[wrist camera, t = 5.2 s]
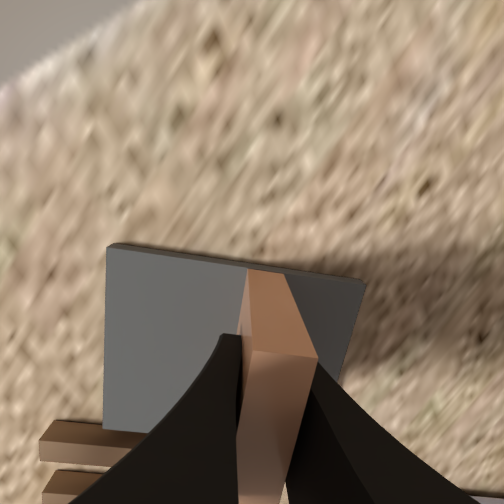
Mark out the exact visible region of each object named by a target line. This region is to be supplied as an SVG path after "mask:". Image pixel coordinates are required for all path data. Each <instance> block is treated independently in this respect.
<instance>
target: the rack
mask: <svg viewBox="0 0 504 504" xmlns="http://www.w3.org/2000/svg"><path fill="white" fill-rule="evenodd" d="M147 434H148V433H141V432H130V431H120V430H109V429H103V425H96V424H86V423H75V422H65V421H55V420H54V421H53V422H52V424H51V425H50V426H49V428H48V429H47V430H46V431H45V433H44V434H43V435H42V437H41V438H40V439H39V454H40V461H47V462H59V463H71V464H82V465H94V466H106V467H112V466H113V465H115V464H116V463H117V462H118V461H119V460H120V459H121V458H123V457H124V456H125V455H126V454H127V453H128V452H129V451H130V450H131V449H133V448H134V447H135V446H136V445H137V444H138V443H139V442H140V441H141V440H142V439H143V438H144V437H145V436H146V435H147ZM102 475H103V474H94V473H82V472H70V471H58V470H56V471H55V473H54V474H53V476H52V477H51V479H50V481H49V482H48V484H47V485H46V487H45V489H44V490H43V492H42V503H43V504H68V503H69V502H70V501H72V500H73V499H74V498H76V497H77V496H78V495H79V494H81V493H82V492H83V491H84V490H85V489H87V488H88V487H89V486H90V485H92V484H93V483H94V482H95V481H96V480H97V479H98V478H100V477H101V476H102Z"/></svg>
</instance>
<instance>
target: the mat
mask: <svg viewBox="0 0 504 504" xmlns="http://www.w3.org/2000/svg"><path fill="white" fill-rule="evenodd" d="M247 269H254V270H261V271H268V272H275V273H282V274H284V276H285V279H286V281H287V284H288V286H289V288H290V291H291V293H292V296H293V298H294V300H295V303H296V305H297V308H298V310H299V312H300V315H301V317H302V320H303V322H304V324H305V327H306V329H307V332H308V334H309V337H310V339H311V341H312V344H313V346H314V349H315V351H316V353H317V356H318V362H319V363H320V364H321V366H322V367H323V368H324V369H325V370H326V371H327V372H328V373H329V375H330V376H331V377H332V378H333V379H334V380H335V381H336V382H337V381H338V377H339V374H340V371H341V367H342V364H343V361H344V358H345V354H346V351H347V348H348V344H349V341H350V338H351V334H352V331H353V328H354V324H355V321H356V318H357V315H358V311H359V308H360V305H361V301H362V298H363V295H364V291H365V288H366V284H365V283H363V282H362V281H361V280H360V279H354V278H347V277H340V276H333V275H326V274H320V273H313V272H306V271H299V270H293V269H286V268H279V267H272V266H265V265H259V264H252V263H245V262H238V261H231V260H225V259H218V258H211V257H204V256H197V255H191V254H184V253H177V252H170V251H164V250H157V249H150V248H143V247H136V246H130V245H123V244H116V243H113V244H111V245H110V246H108V247H106V291H105V337H104V383H103V429H109V430H120V431H130V432H141V433H149V432H150V431H151V430H152V429H153V428H154V427H155V426H156V425H157V424H158V423H159V422H160V421H161V420H162V419H163V418H164V416H165V415H166V414H167V413H168V412H169V411H170V410H171V409H172V408H173V406H174V405H175V404H176V403H177V402H178V401H179V399H180V398H181V397H182V396H183V395H184V393H185V392H186V391H187V389H188V388H189V387H190V385H191V384H192V383H193V381H194V380H195V379H196V377H197V376H198V375H199V373H200V372H201V370H202V369H203V367H204V366H205V364H206V362H207V361H208V359H209V358H210V356H211V354H212V352H213V351H214V349H215V347H216V345H217V342H218V340H219V336H220V335H221V334H223V333H228V334H237V328H238V322H239V316H240V310H241V304H242V298H243V293H244V287H245V281H246V275H247Z"/></svg>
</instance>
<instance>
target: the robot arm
mask: <svg viewBox="0 0 504 504" xmlns="http://www.w3.org/2000/svg"><path fill="white" fill-rule="evenodd" d="M241 353H242V339H241V335H236V334H228V333H223V334H221V335H220V336H219V340H218V342H217V345H216V347H215V349H214V351H213V352H212V354H211V356H210V358H209V359H208V361H207V362H206V364H205V366H204V367H203V369H202V370H201V372H200V373H199V375H198V376H197V377H196V379H195V380H194V381H193V383H192V384H191V385H190V387H189V388H188V389H187V391H186V392H185V393H184V395H183V396H182V397H181V398H180V399H179V401H178V402H177V403H176V404H175V405H174V406H173V408H172V409H171V410H170V411H169V412H168V413H167V414H166V415H165V416H164V418H163V419H162V420H161V421H160V422H159V423H158V424H157V425H156V426H155V427H154V428H153V429H152V430H151V431H150V432H149V433H148V434H147V435H146V436H145V437H144V438H143V439H142V440H141V441H140V442H139V443H138V444H137V445H136V446H135V447H134V448H133V449H131V450H130V451H129V452H128V453H127V454H126V455H125V456H124V457H123V458H121V459H120V460H119V461H118V462H117V463H116V464H115V465H113V466H112V467H111V468H110V469H109V470H108V471H106V472H105V473H104V474H103V475H102V476H101V477H100V478H98V479H97V480H96V481H95V482H94V483H93V484H92V485H90V486H89V487H88V488H87V489H85V490H84V491H83V492H82V493H81V494H79V495H78V496H77V497H76V498H74V499H73V500H72V501H70V502H69V503H68V504H239V497H238V477H237V450H236V390H237V383H238V375H239V368H240V361H241ZM285 482H286V488H287V494H288V499H289V504H504V499H502V498H490V497H478V496H469V495H468V494H466V493H465V492H464V491H462V490H461V489H459V488H458V487H457V486H455V485H454V484H453V483H451V482H450V481H448V480H447V479H446V478H444V477H443V476H442V475H440V474H439V473H438V472H437V471H435V470H434V469H433V468H431V467H430V466H429V465H427V464H426V463H425V462H424V461H422V460H421V459H420V458H418V457H417V456H416V455H415V454H413V453H412V452H411V451H410V450H408V449H407V448H406V447H405V446H403V445H402V444H401V443H400V442H399V441H398V440H396V439H395V438H394V437H393V436H392V435H391V434H390V433H388V432H387V431H386V430H385V429H384V428H383V427H381V426H380V425H379V424H378V423H377V422H376V421H375V420H374V419H373V418H372V417H370V416H369V415H368V414H367V413H366V412H365V411H364V410H363V409H362V408H361V407H360V406H359V405H358V404H357V403H356V402H355V401H354V400H353V399H352V398H351V397H350V396H349V395H348V394H347V393H346V392H345V391H344V390H343V389H342V388H341V387H340V385H339V384H338V383H337V382H336V381H335V380H334V379H333V378H332V377H331V376H330V375H329V373H328V372H327V371H326V370H325V369H324V368H323V367H322V366H321V364H320V363H319V362H317V365H316V369H315V373H314V377H313V380H312V384H311V388H310V391H309V395H308V399H307V402H306V406H305V410H304V413H303V417H302V421H301V425H300V428H299V432H298V436H297V439H296V443H295V447H294V450H293V454H292V458H291V461H290V465H289V469H288V472H287V476H286V480H285Z"/></svg>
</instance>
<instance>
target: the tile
mask: <svg viewBox="0 0 504 504" xmlns="http://www.w3.org/2000/svg"><path fill="white" fill-rule="evenodd" d="M236 335H241V339H242V353H241V361H240V368H239V375H238V383H237V390H236V450H237V477H238V497H239V504H279V502H280V498H281V495H282V491H283V487H284V484H285V480H286V476H287V472H288V469H289V465H290V461H291V458H292V454H293V450H294V447H295V443H296V439H297V436H298V432H299V428H300V425H301V421H302V417H303V413H304V410H305V406H306V402H307V399H308V395H309V391H310V388H311V384H312V380H313V377H314V373H315V369H316V365H317V362H318V356H317V353H316V351H315V349H314V346H313V344H312V341H311V339H310V337H309V334H308V332H307V329H306V327H305V324H304V322H303V320H302V317H301V315H300V312H299V310H298V308H297V305H296V303H295V300H294V298H293V296H292V293H291V291H290V288H289V286H288V284H287V281H286V279H285V276H284V274H282V273H275V272H268V271H261V270H254V269H247V275H246V281H245V287H244V293H243V298H242V304H241V310H240V316H239V322H238V328H237V334H236Z"/></svg>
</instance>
